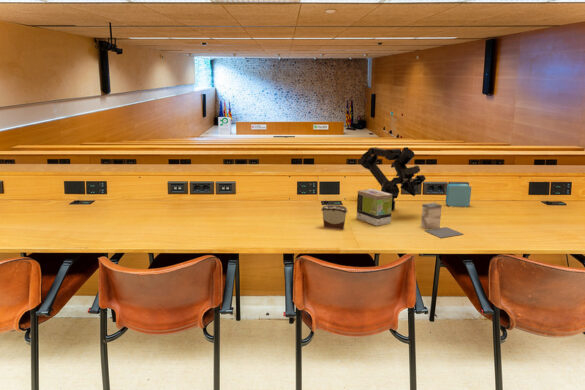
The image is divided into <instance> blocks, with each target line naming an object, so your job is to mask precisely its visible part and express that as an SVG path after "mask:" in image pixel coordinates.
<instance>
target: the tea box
mask: <svg viewBox="0 0 585 390" xmlns="http://www.w3.org/2000/svg"><path fill="white" fill-rule="evenodd" d="M356 198H357V199H356V200H357V201H356V219H357V220H360V221H363V222H365V223H368V224H371V225H373V226H375V227H376V226H384V225H388V224H391V222H392V212H393V211H392V194H390V193H386V192H383V191H381V190H378V189H375V188H367V189H362V190H361V189H359V190H357V197H356Z"/></svg>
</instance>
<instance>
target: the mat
mask: <svg viewBox="0 0 585 390" xmlns="http://www.w3.org/2000/svg"><path fill="white" fill-rule="evenodd" d="M423 231H424V232H426V233H427V234H430V235H432V236H435V237H437V238H440V239H445V238H452V237H458V236H462V235H463V236H464V233H463V232H459V231H457V230H455V229H452V228H450V227H447V226H445V227H444V226H443V227H440V228H435V229H429V230H427V229H425V230H423Z"/></svg>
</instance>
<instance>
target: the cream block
mask: <svg viewBox="0 0 585 390" xmlns="http://www.w3.org/2000/svg"><path fill="white" fill-rule="evenodd" d="M421 205H422V206H421V207H422V208H421V221H420V227H421V228H423V229H425V230H430V229H437V228H441V219H442V218H441V217H442V207H443V206H442V204H438V203H436V202H431V203H429V202H428V203H423V204H421Z"/></svg>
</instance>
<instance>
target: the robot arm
mask: <svg viewBox="0 0 585 390" xmlns="http://www.w3.org/2000/svg"><path fill="white" fill-rule="evenodd" d="M378 157H383V158H385V160H387V161H393V162H391V165H390V168H394V170H395V172H396V174H395V176H396V177H393V178H392V179H391V180H389V179H388V177H387V176H386V175H385V174H384V173H383V172H382V169H380V167H379V166H378V165H377V161H378ZM413 158H415V152H414V151H413V150H412V149H410V148H409V147H408V146H405V147H403V149H400V148H389V149H387V148H380V147H369V148H368V150H366V151H365V152H364V153H363V154H362V156H361V157H360V159H359V164H360V166H361V167H363V168H364V169H367V170H369V172H370V173H371V175H372V176H373V177H374V178H375V180H376V181H377V182H378V184H379V186H380V189H381V190H380V191H383V192H386V193H390V194H392V211H391V212H394V210H395V209H396V200H395V199H397V198H398V197H399V193H400V189H402V190H404V191H406V192H407V193H408V194H410V195H411V196H413V197H416V186H420V185H422V184H423V183H424V181H425V180H427V178H426V176H425V175H424V174H419V173H420V171H421V168H420V166H419V165H414V166H410V167H408V166H407V165H408V164H409V163H410V162H411V161H412V159H413ZM416 174H418V175H416ZM415 175H416V176H415ZM399 185H400V187H399Z"/></svg>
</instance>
